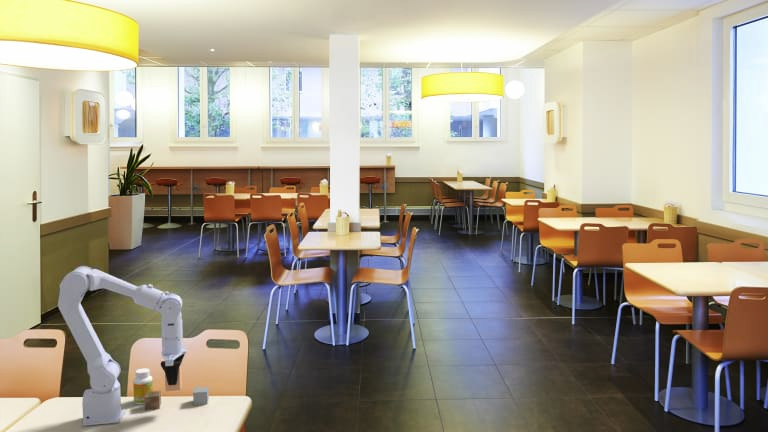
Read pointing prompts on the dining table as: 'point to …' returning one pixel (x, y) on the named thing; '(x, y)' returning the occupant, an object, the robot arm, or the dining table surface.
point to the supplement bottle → (142, 385)
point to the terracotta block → (178, 384)
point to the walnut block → (152, 400)
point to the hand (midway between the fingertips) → (173, 381)
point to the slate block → (200, 396)
